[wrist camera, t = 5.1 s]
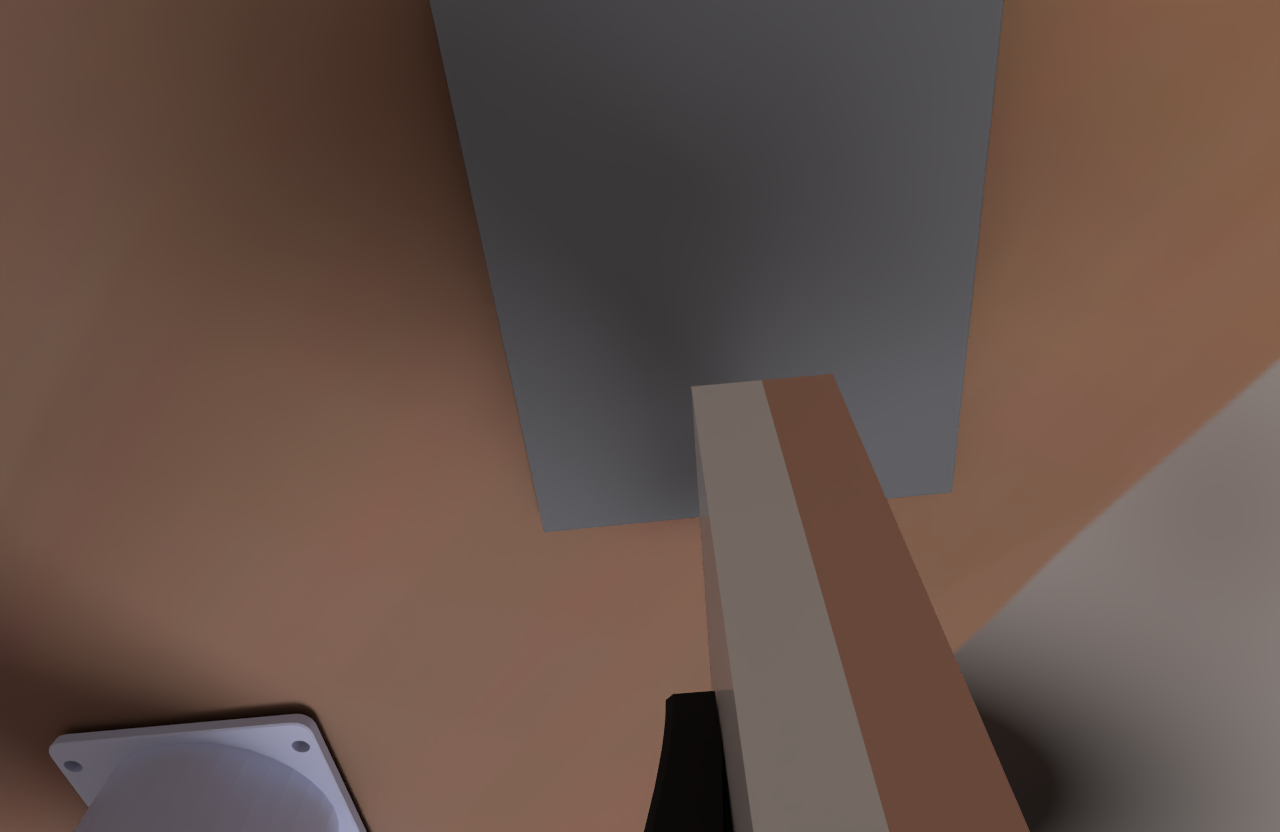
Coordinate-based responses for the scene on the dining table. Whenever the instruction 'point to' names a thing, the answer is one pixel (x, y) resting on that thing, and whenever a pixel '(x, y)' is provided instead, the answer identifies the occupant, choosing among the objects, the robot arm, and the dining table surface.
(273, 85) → the dining table surface
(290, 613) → the dining table surface
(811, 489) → the tile
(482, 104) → the mat
